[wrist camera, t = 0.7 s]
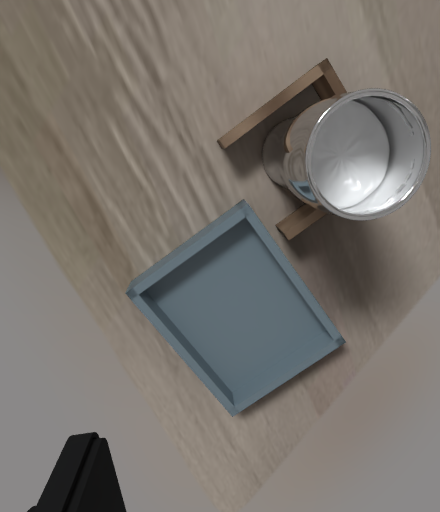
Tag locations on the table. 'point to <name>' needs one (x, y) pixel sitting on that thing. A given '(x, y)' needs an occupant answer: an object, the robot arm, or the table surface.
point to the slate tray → (235, 309)
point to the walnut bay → (322, 82)
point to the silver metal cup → (351, 153)
